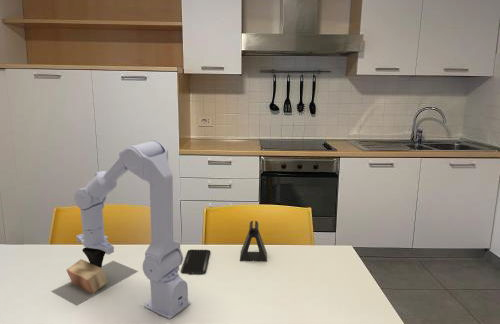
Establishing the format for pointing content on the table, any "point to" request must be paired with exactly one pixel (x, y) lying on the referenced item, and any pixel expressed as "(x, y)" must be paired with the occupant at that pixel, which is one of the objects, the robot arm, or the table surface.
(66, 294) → the rubber mat
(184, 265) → the phone
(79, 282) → the oak block
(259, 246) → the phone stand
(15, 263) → the table surface
